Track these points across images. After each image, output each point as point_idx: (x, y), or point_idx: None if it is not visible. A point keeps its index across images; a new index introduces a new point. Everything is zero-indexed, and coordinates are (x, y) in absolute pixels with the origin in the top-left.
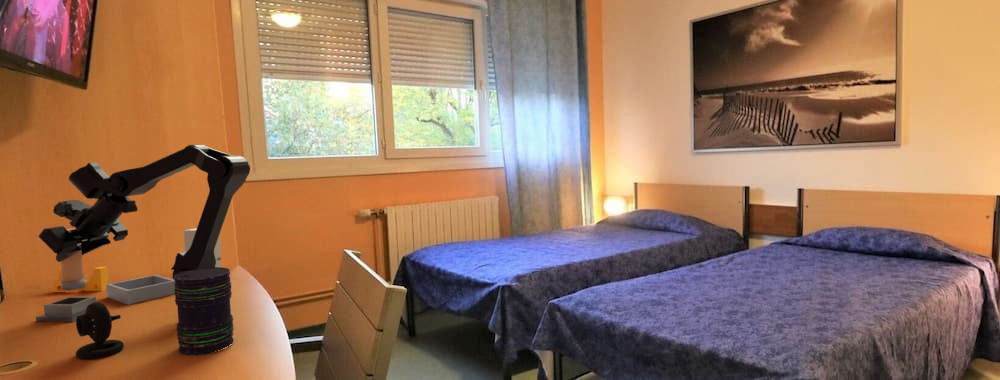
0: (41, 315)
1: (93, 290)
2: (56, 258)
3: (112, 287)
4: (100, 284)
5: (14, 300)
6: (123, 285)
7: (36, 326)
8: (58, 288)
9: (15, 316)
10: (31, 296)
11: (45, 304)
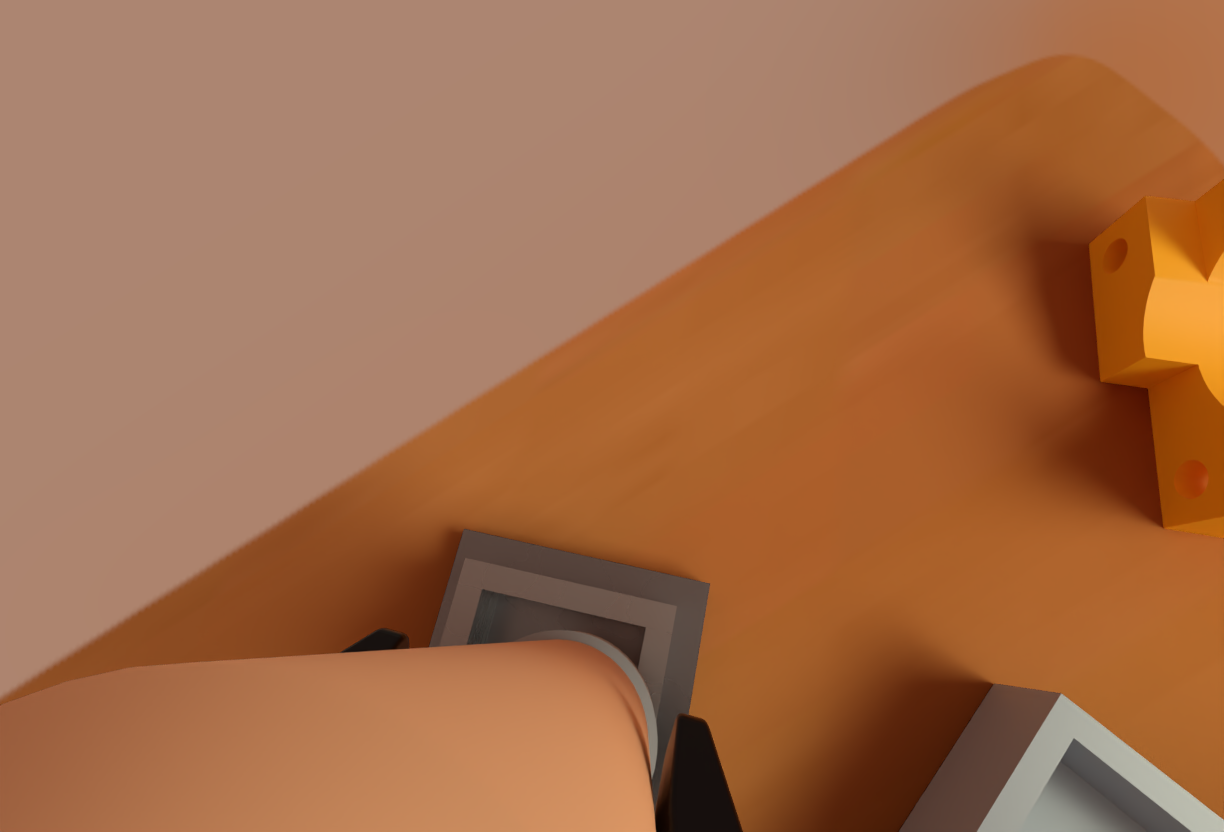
0: (491, 543)
1: (1160, 464)
2: (363, 649)
3: (988, 800)
4: (1206, 513)
5: (916, 147)
6: (1142, 806)
7: (363, 602)
8: (1120, 247)
9: (598, 352)
10: (998, 176)
11: (477, 561)
